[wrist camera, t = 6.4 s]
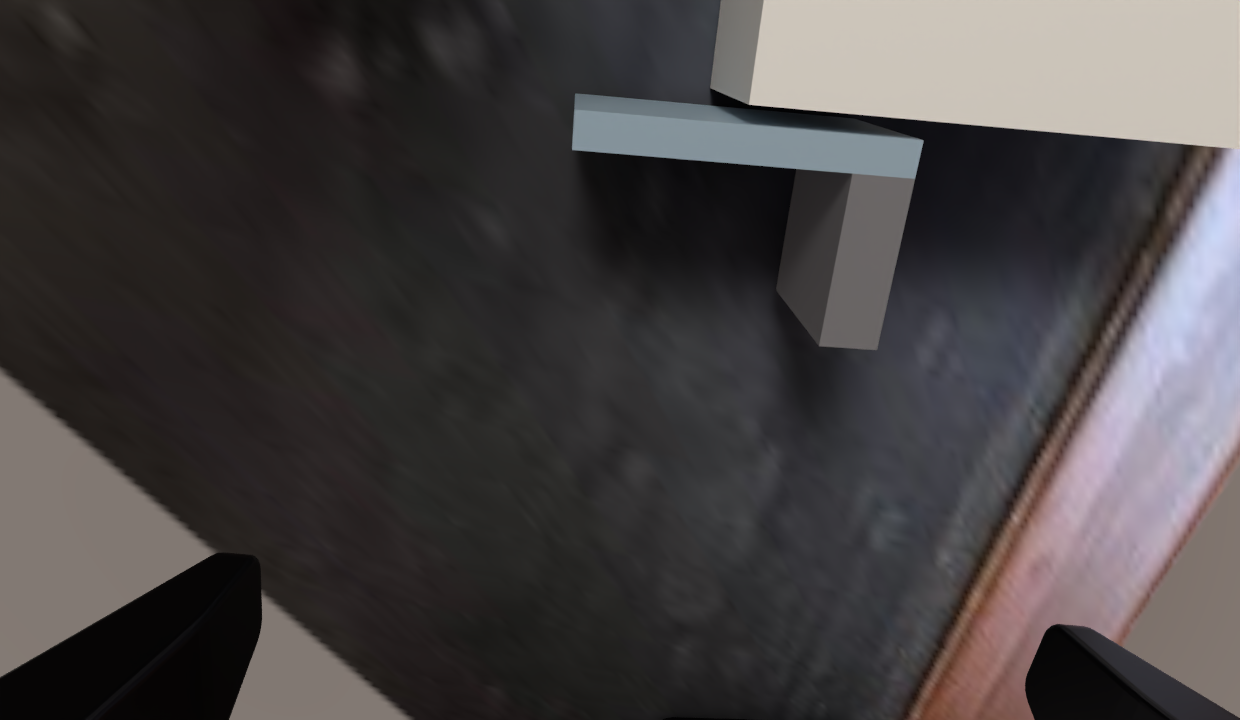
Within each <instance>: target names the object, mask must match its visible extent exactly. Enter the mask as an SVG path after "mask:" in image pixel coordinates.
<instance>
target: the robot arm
mask: <svg viewBox="0 0 1240 720" xmlns="http://www.w3.org/2000/svg"><path fill="white" fill-rule="evenodd" d="M261 623H262V599H261V568H260V563H259V560H258V559H257V558H256V557H255V556H253V555H247V554H235V553H216V554H214V555H212V556H210V557H208V558H206V559H205V560H203V561H201V562H200V563H198V564H196V565H194V566H192V567H191V568H189V569H187V570H186V571H184V572H182V573H180V574H179V575H177V576H175V577H173V578H172V579H170V580H168V581H166V582H165V583H163V584H161V585H160V586H158V587H156V588H154V589H153V590H151V591H149V592H147V593H146V594H144V595H142V596H141V597H139V598H137V599H135V600H133V601H132V602H130V603H128V604H126V605H125V606H123V607H121V608H120V609H118V610H116V611H114V612H113V613H111V614H109V615H107V616H106V617H104V618H102V619H100V620H99V621H97V622H95V623H93V624H92V625H90V626H88V627H87V628H85V629H83V630H81V631H80V632H78V633H76V634H75V635H73V636H71V637H69V638H68V639H66V640H64V641H62V642H60V643H59V644H57V645H55V646H54V647H52V648H50V649H49V650H47V651H45V652H43V653H42V654H40V655H38V656H36V657H35V658H33V659H31V660H29V661H27V662H26V663H24V664H22V665H21V666H19V667H17V668H16V669H14V670H12V671H10V672H8V673H7V674H5V675H3V676H1V677H0V720H229V718H230V715H231V713H232V710H233V707H234V704H235V702H236V699H237V696H238V694H239V691H240V688H241V685H242V683H243V680H244V677H245V674H246V671H247V668H248V666H249V663H250V660H251V658H252V655H253V652H254V650H255V647H256V644H257V641H258V638H259V634H260V629H261ZM1025 691H1026V697H1027V700H1028V703H1029V706H1030V708H1031V711H1032V714H1033V716H1034V719H1035V720H1240V718H1238V717H1237V716H1235V715H1234V714H1232V713H1230V712H1229V711H1227V710H1225V709H1224V708H1222V707H1220V706H1219V705H1217V704H1215V703H1214V702H1212V701H1210V700H1209V699H1207V698H1205V697H1204V696H1202V695H1200V694H1199V693H1197V692H1195V691H1194V690H1192V689H1190V688H1189V687H1187V686H1185V685H1184V684H1182V683H1181V682H1179V681H1177V680H1176V679H1174V678H1172V677H1171V676H1169V675H1167V674H1166V673H1164V672H1162V671H1161V670H1159V669H1157V668H1156V667H1154V666H1152V665H1151V664H1149V663H1148V662H1146V661H1144V660H1142V659H1141V658H1139V657H1138V656H1136V655H1134V654H1133V653H1131V652H1129V651H1128V650H1126V649H1124V648H1123V647H1121V646H1119V645H1118V644H1116V643H1114V642H1113V641H1111V640H1109V639H1108V638H1106V637H1105V636H1103V635H1101V634H1100V633H1098V632H1096V631H1095V630H1093V629H1091V628H1088V627H1085V626H1075V625H1063V624H1056V625H1053V626H1051V627H1050V628H1049V629H1047V630H1046V632H1045V634H1044V636H1043V638H1042V641H1041V643H1040V645H1039V648H1038V650H1037V652H1036V655H1035V657H1034V659H1033V662H1032V664H1031V667H1030V669H1029V671H1028V674H1027V677H1026V682H1025ZM663 720H745V719H711V718H676V717H672V718H666V719H663Z"/></svg>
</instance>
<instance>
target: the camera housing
mask: <svg viewBox="0 0 1240 720" xmlns="http://www.w3.org/2000/svg"><path fill="white" fill-rule="evenodd" d="M710 88H711V89H713V90H716V91H718V92H720V93H723V94H725V95H727V96H730V97H732V98H734V99H737V100H739V101H741V102H744V103H746V104H748V105H757V106H768V107H779V108H790V109H801V110H812V111H823V112H834V113H846V114H857V115H868V116H879V117H890V118H901V119H912V120H923V121H934V122H945V123H956V124H967V125H978V126H990V127H1001V128H1012V129H1023V130H1034V131H1045V132H1056V133H1067V134H1078V135H1089V136H1100V137H1111V138H1122V139H1134V140H1145V141H1156V142H1167V143H1178V144H1189V145H1200V146H1211V147H1222V148H1233V149H1240V0H721V5H720V13H719V21H718V29H717V37H716V45H715V53H714V61H713V69H712V77H711V85H710Z"/></svg>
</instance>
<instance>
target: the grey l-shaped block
mask: <svg viewBox="0 0 1240 720" xmlns="http://www.w3.org/2000/svg"><path fill="white" fill-rule="evenodd" d="M923 141H924V140H921V139H918V138H915V137H911V136H908V135H905V134H902V133H899V132H896V131H892V130H889V129H886V128H883V127H880V126H877V125H873V124H870V123H867V122H864V121H861V120H857V119H854V118H843V117H832V116H821V115H810V114H799V113H788V112H777V111H765V110H754V109H743V108H732V107H721V106H710V105H699V104H688V103H676V102H665V101H654V100H643V99H632V98H621V97H610V96H599V95H587V94H576V93H575V105H574V120H573V140H572V150H579V151H591V152H602V153H614V154H626V155H638V156H650V157H662V158H674V159H686V160H697V161H709V162H721V163H733V164H745V165H757V166H769V167H780V168H792V169H796V174H795V180H794V185H793V191H792V197H791V203H790V209H789V215H788V221H787V227H786V233H785V239H784V245H783V251H782V257H781V263H780V269H779V275H778V281H777V286H776V291H777V292H778V293H779V295H780V296H781V297H782V299H783V300H784V301H785V303H786V304H787V305H788V306H789V308H790V309H791V310H792V312H793V313H794V314H795V316H796V317H797V318H798V320H799V321H800V322H801V323H802V325H803V326H804V327H805V329H806V330H807V331H808V333H809V334H810V335H811V336H812V338H813V339H814V340H815V342H816V343H817V344H818V346H823V347H838V348H853V349H868V350H877V347H878V343H879V338H880V334H881V329H882V325H883V320H884V316H885V311H886V307H887V302H888V298H889V293H890V289H891V284H892V280H893V276H894V271H895V267H896V262H897V258H898V253H899V249H900V244H901V240H902V235H903V231H904V226H905V222H906V217H907V213H908V208H909V204H910V200H911V195H912V191H913V186H914V182H915V177H916V173H917V168H918V164H919V159H920V155H921V150H922V146H923Z"/></svg>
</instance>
